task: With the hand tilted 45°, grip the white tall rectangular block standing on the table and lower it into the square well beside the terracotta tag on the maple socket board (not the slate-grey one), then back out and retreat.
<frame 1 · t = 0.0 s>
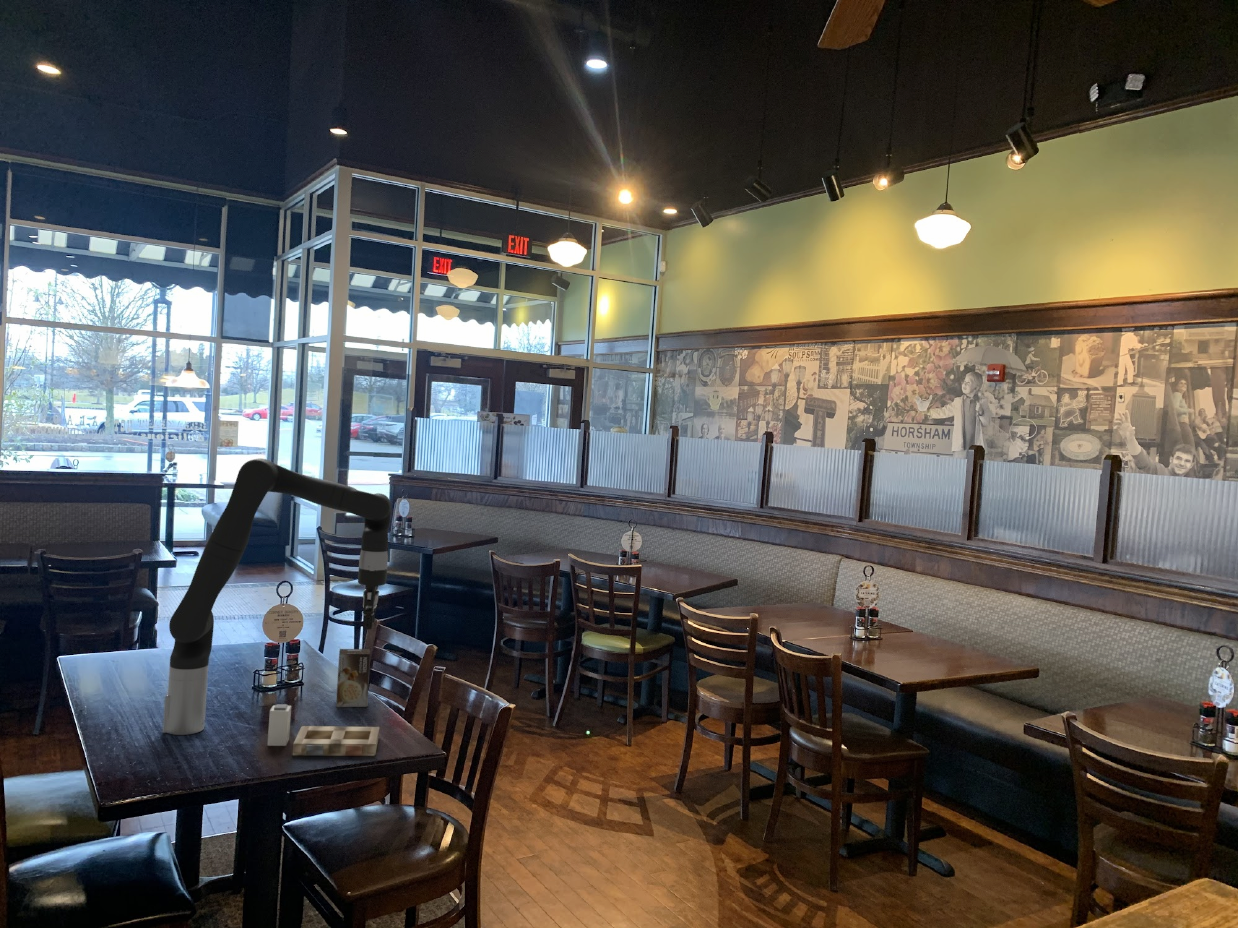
hand: (368, 625, 238), 29 cm above the table, tool pointing down, fingers open, 8 cm apart
white tall rectangular block: (278, 742, 226), on the table
coffee box: (351, 704, 261), on the table
socket board: (337, 746, 226), on the table
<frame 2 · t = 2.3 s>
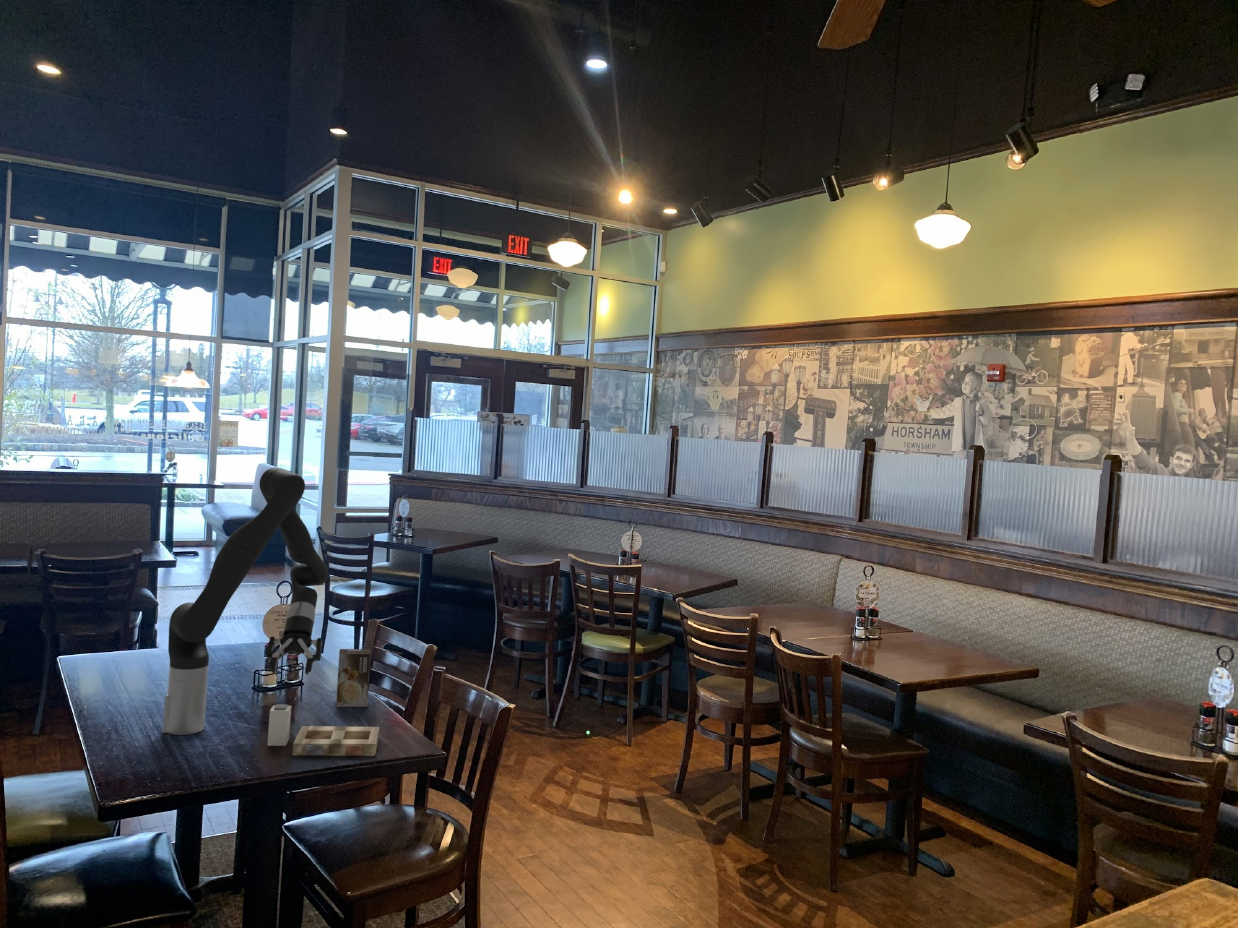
hand: (290, 672, 237), 15 cm above the table, tool tilted 45°, fingers open, 8 cm apart
nothing on the table moved.
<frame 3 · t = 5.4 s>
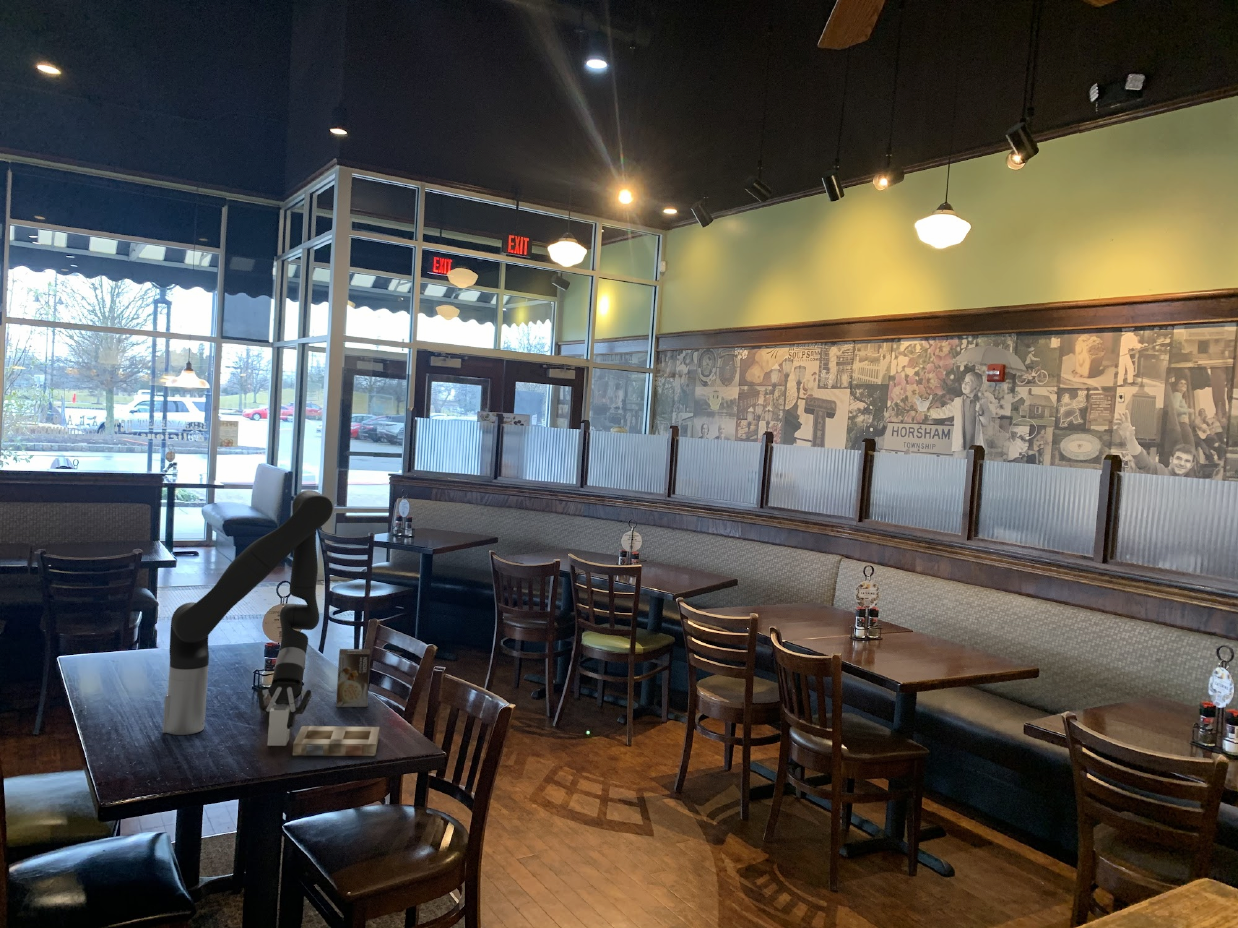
hand: (278, 727, 224), 5 cm above the table, tool tilted 45°, fingers closed on white tall rectangular block, 4 cm apart
white tall rectangular block: (278, 742, 226), on the table, touching gripper
everything else where it was.
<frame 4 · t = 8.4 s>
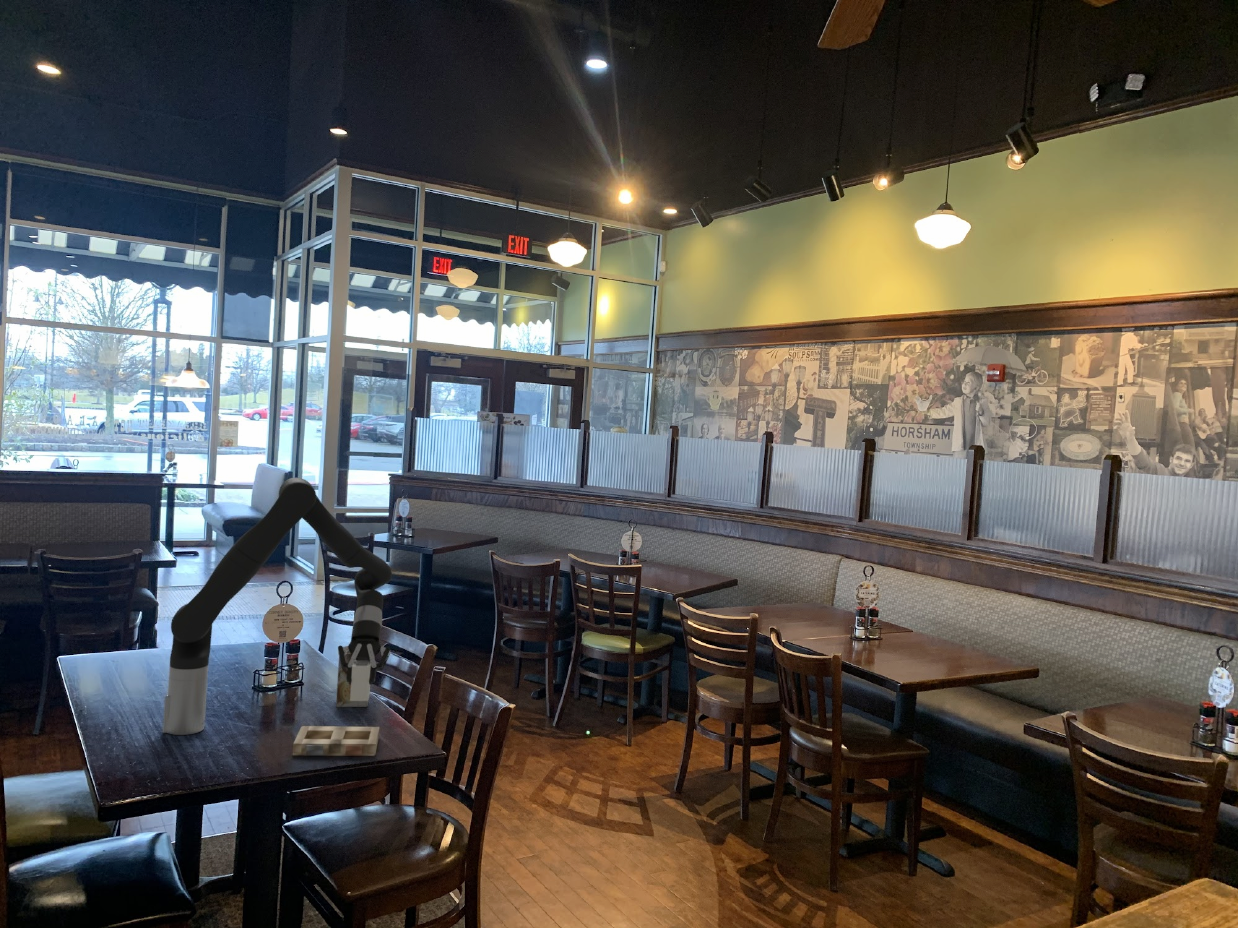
hand: (360, 682, 225), 17 cm above the table, tool tilted 45°, fingers closed on white tall rectangular block, 4 cm apart
white tall rectangular block: (359, 698, 227), point 13 cm above the table, touching gripper
everything else where it was.
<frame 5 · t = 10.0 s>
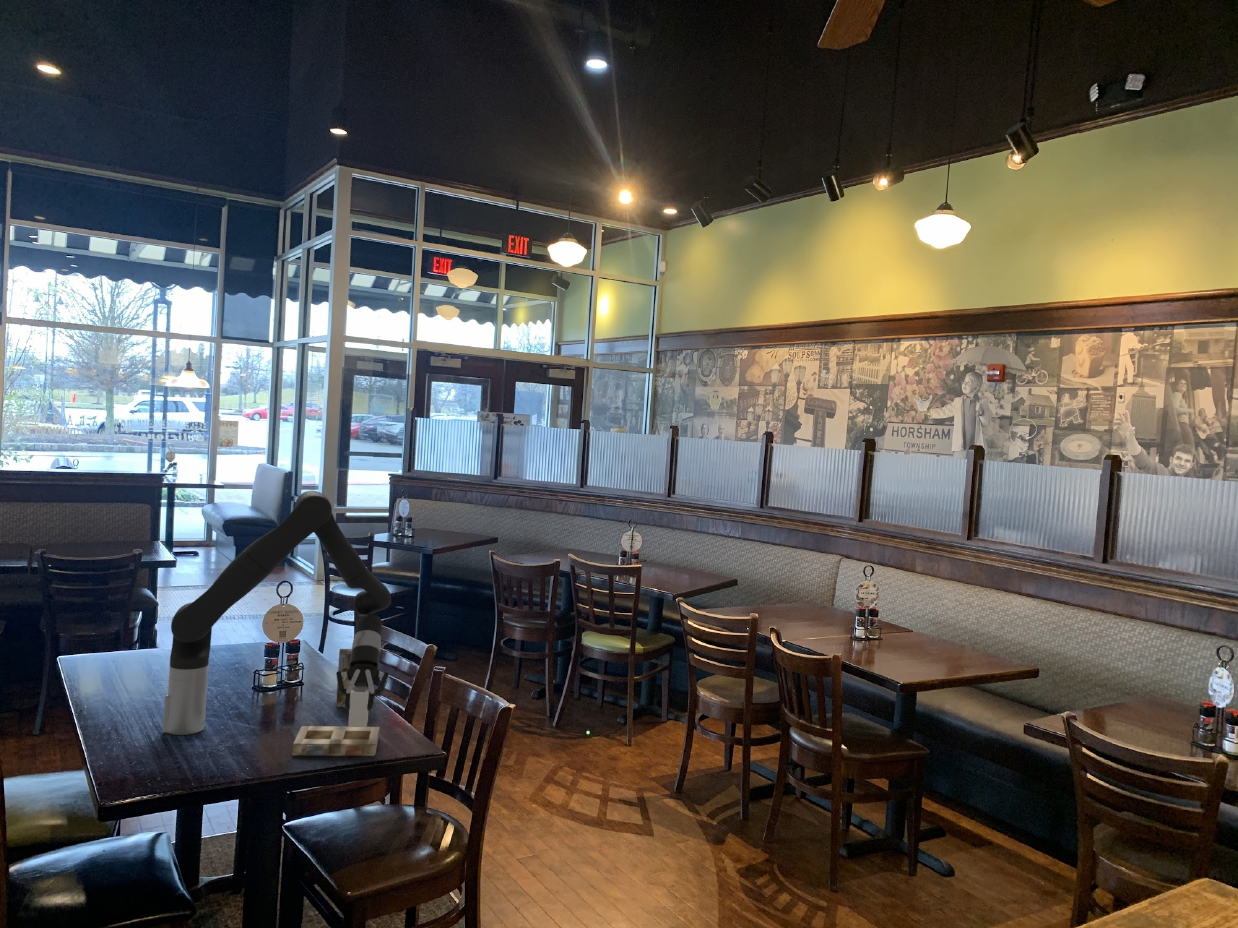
hand: (358, 708, 225), 11 cm above the table, tool tilted 45°, fingers closed on white tall rectangular block, 4 cm apart
white tall rectangular block: (358, 723, 227), point 6 cm above the table, touching gripper
everything else where it was.
when the fingers open (7 cm above the table, at t = 11.3 s): white tall rectangular block drops 1 cm, resting on socket board.
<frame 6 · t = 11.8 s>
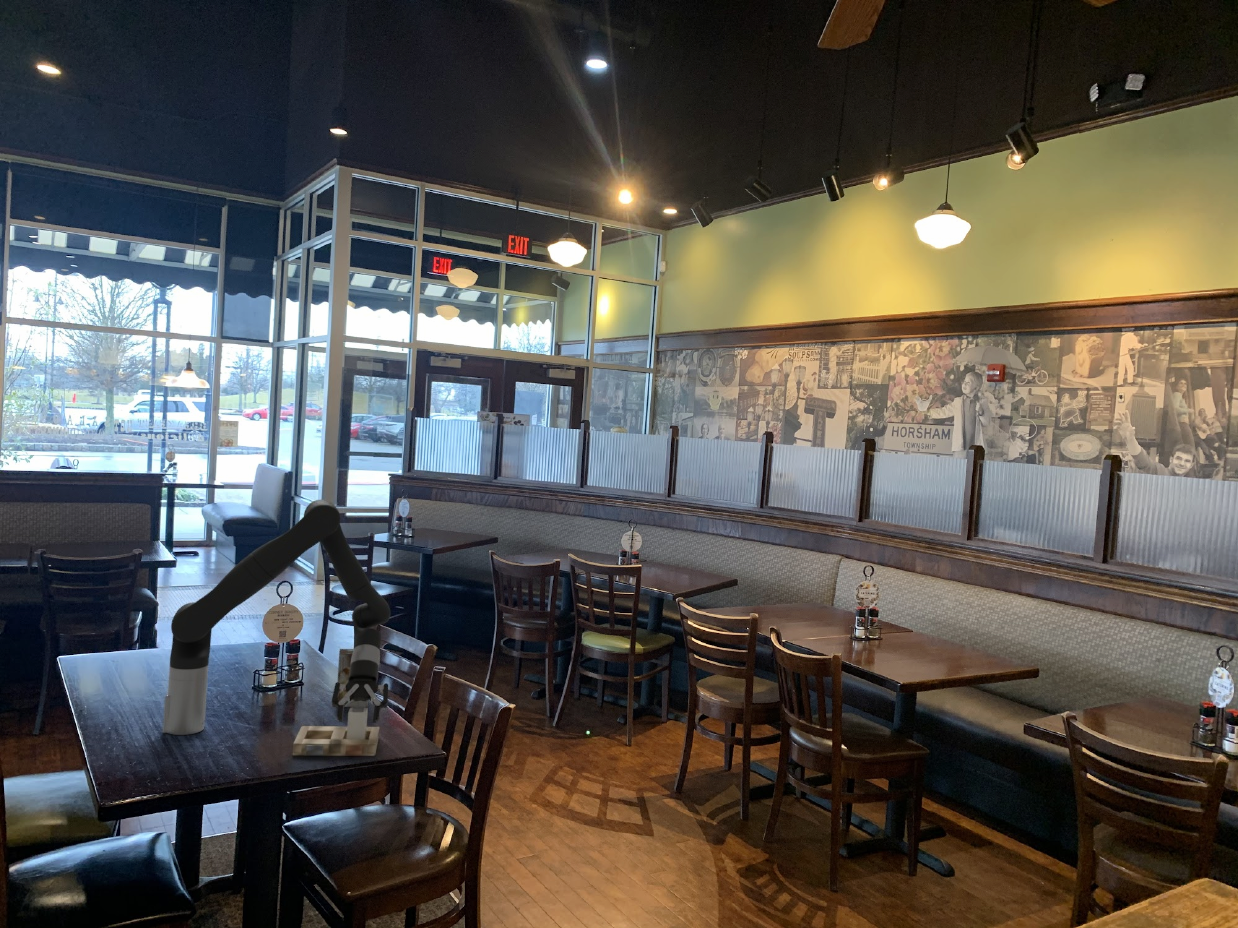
hand: (357, 720, 226), 7 cm above the table, tool tilted 45°, fingers open, 8 cm apart
white tall rectangular block: (355, 744, 227), resting on socket board
everything else where it was.
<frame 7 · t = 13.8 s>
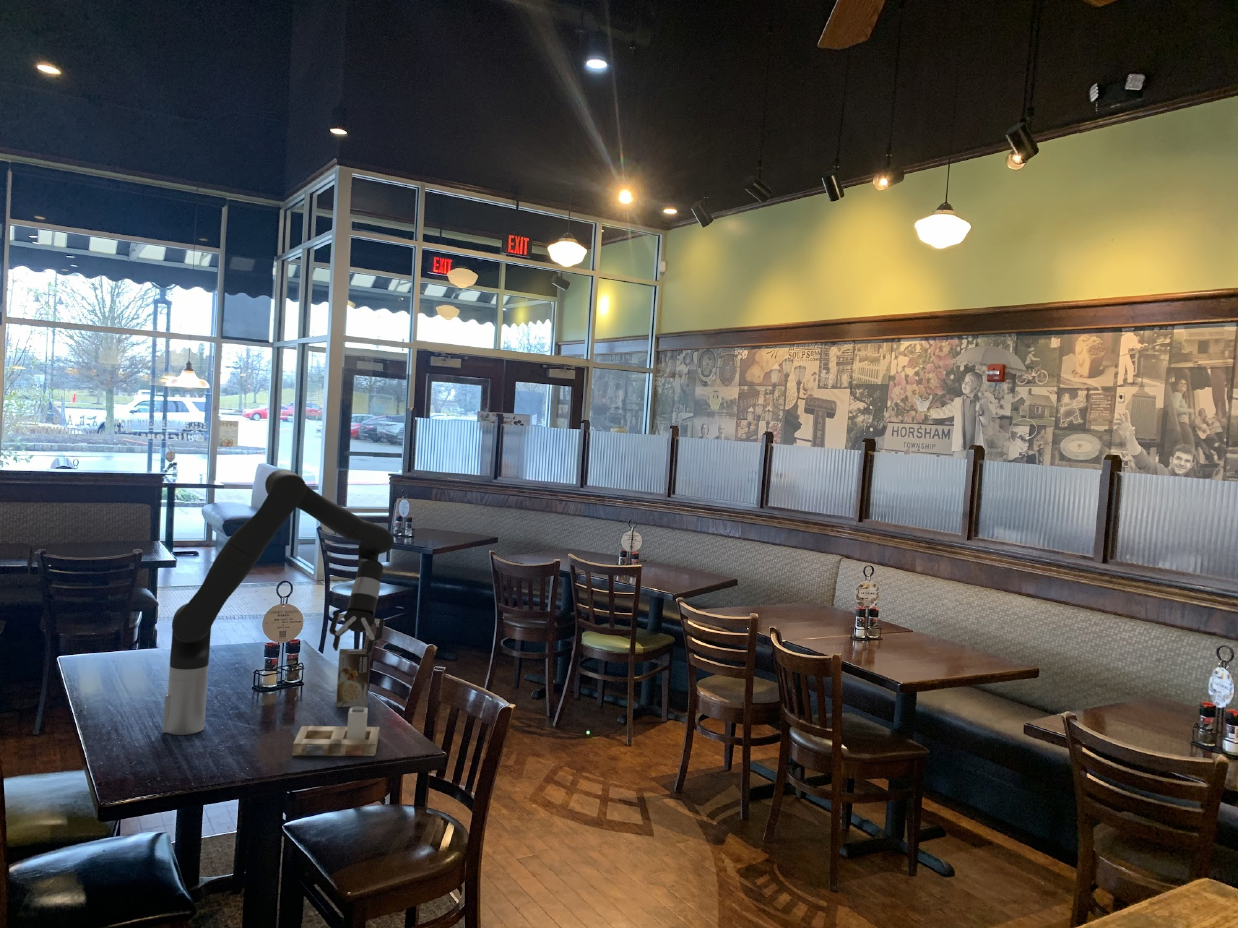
hand: (351, 652, 239), 21 cm above the table, tool tilted 30°, fingers open, 8 cm apart
nothing on the table moved.
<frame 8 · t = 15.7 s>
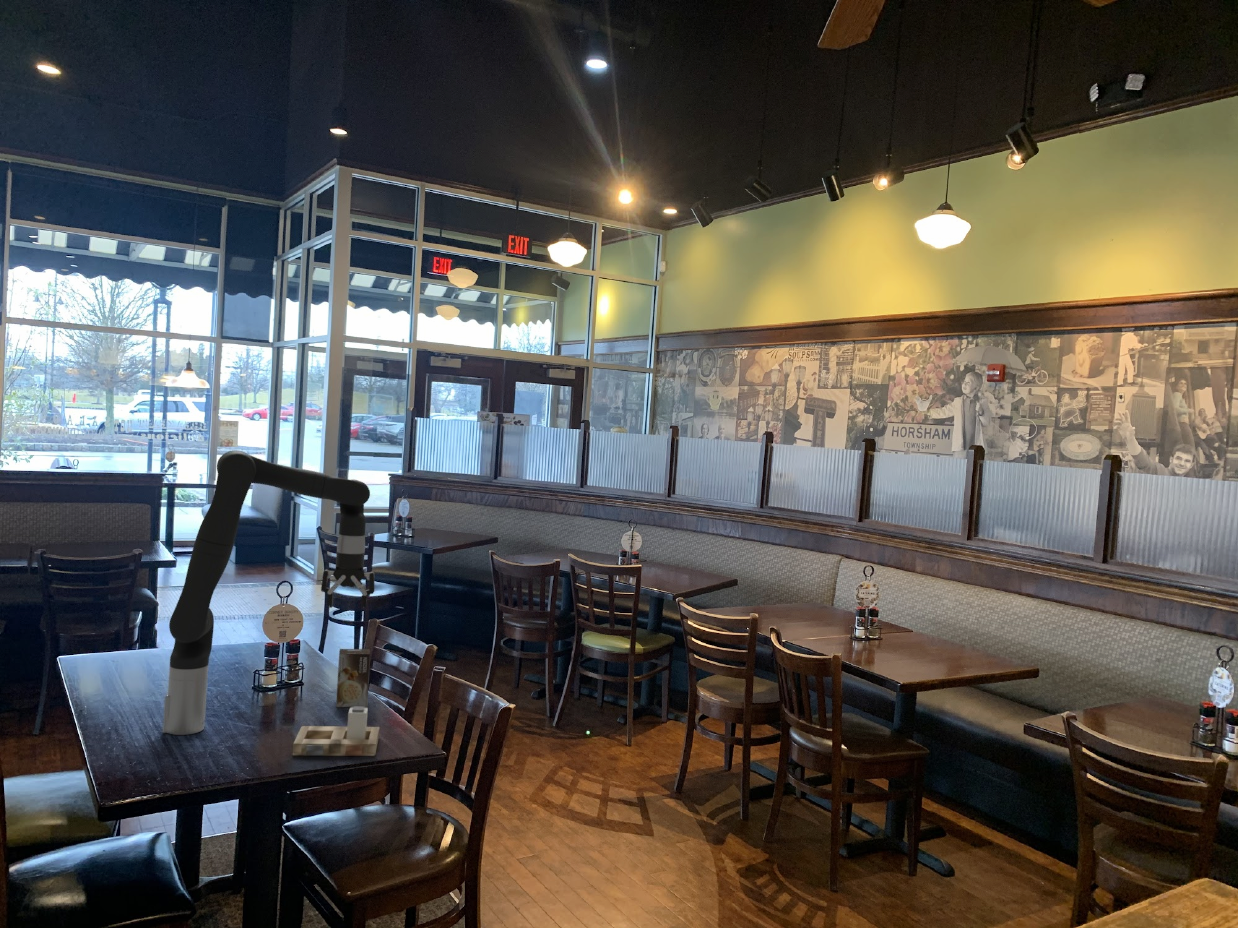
hand: (346, 607, 245), 32 cm above the table, tool pointing down, fingers open, 8 cm apart
nothing on the table moved.
at the end: white tall rectangular block 0.2 cm from the target spot on the socket board, point 0.5 cm above the socket board's base; white tall rectangular block tilted 0°; the gripper is holding nothing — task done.
